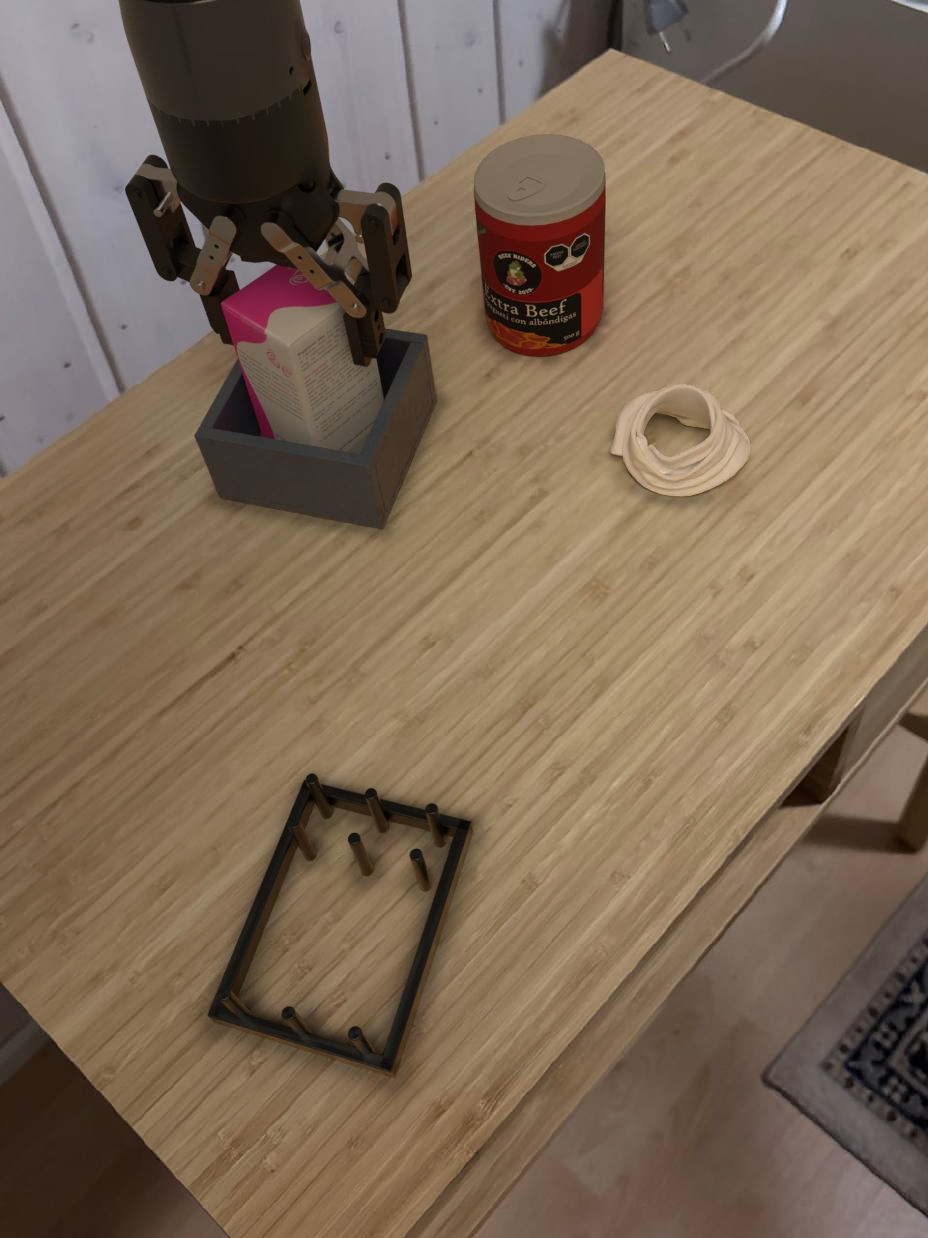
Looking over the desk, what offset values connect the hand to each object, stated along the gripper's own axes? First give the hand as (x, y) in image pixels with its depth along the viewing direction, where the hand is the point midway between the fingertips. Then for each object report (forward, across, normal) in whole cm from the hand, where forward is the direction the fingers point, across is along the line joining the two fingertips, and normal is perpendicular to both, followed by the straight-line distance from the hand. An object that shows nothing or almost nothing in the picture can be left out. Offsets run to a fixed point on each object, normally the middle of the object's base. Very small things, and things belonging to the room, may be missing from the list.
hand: (301, 345), depth 64 cm
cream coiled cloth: (+9, +21, +4) cm, 23 cm away
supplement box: (+8, 0, 0) cm, 8 cm away
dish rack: (+9, +12, -28) cm, 31 cm away
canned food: (+9, +10, +14) cm, 19 cm away
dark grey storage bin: (+9, 0, 0) cm, 9 cm away
